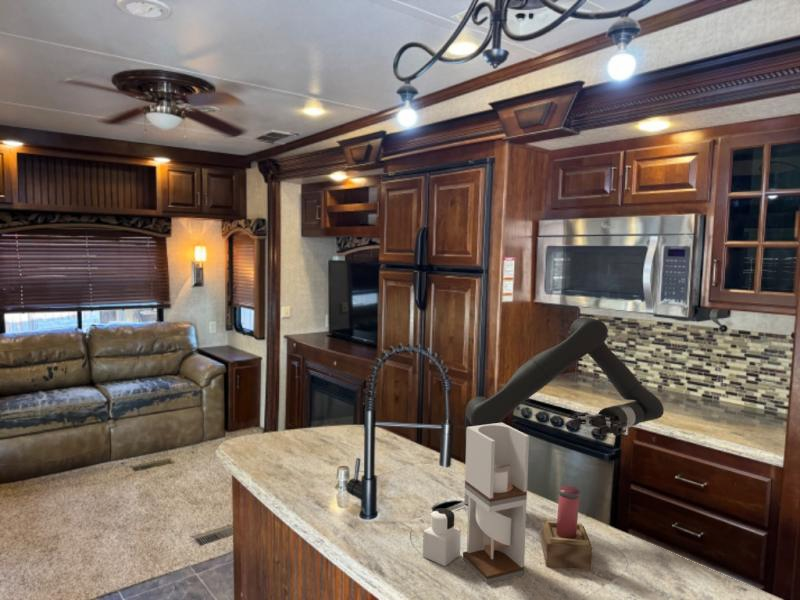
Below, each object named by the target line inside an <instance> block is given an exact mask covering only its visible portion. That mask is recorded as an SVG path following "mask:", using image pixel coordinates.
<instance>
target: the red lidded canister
mask: <svg viewBox="0 0 800 600" xmlns="http://www.w3.org/2000/svg"><path fill="white" fill-rule="evenodd" d="M580 496H581V491H580V489H578V488H577V487H575V486H571V485H560V486H559V488H558V506H557V519H556V522H557V530H556V533H557V535H558V536H560V537H562V538H567V539H574V538H576V533H577V523H578V519H579V506H580Z"/></svg>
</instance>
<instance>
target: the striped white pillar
mask: <svg viewBox="0 0 800 600" xmlns="http://www.w3.org/2000/svg"><path fill="white" fill-rule="evenodd" d="M529 447H530V435H528V434H526V433H525V432H522V431H519V430H518V429H517V428H514V427H512V426H510V425H508V424H506V423H504V422H500V423H494V424H486V425H478V426H470V427H467V431H466V438H465V470H464V471H465V472H464V473H465V475H464V495H465V494H467V495H468V496H469V498H468V504H467V507H468V508H467V534H466V535H467V537H466V538H467V539H466V540H467V541H466V551H463V552H462V561H463V562H465V564H466V565H468V567H469V568H470V569H471V570H472V571H473V572H474V573H475V574H476V575H477V576H478V577H479V578H480V579H481V580H482V581H483V582H484V583H485V584H486V585H490V584H493V583H499V582H501V581H505V580H508V579H512V578H517V577H519V576H523V575H525V574H524V573H525V552H526V550H525V549H526V548H525V547H526V528H527V527H526V526H527V524H526V523H527V503H528V502H527V501H528V500H527V499H528V498H527V497H528V474H529V451H530V450H529Z"/></svg>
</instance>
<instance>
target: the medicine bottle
mask: <svg viewBox="0 0 800 600" xmlns="http://www.w3.org/2000/svg"><path fill="white" fill-rule="evenodd" d="M461 535H462V530H461V529H460V528H458V527H455V513H454V512H453V511H452V510H450V509H448V508H440V507H439V508H435V509H434V510H432V511H431V513H430V526H429V527H428V528H426V529H424V530H423V541H422V543H423V544H422V549H423V550H422V557H423V558H425V559H428V560H429V561H432V562H434V563H436V564H439V565H441V566H443V567H446V566H447V565H449V564H450V563H451V562H453V561H454V560H456V559H457V558H459V557H460V555H461V539H462V536H461Z"/></svg>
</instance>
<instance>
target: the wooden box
mask: <svg viewBox="0 0 800 600" xmlns="http://www.w3.org/2000/svg"><path fill="white" fill-rule="evenodd" d="M556 530H557V521H552V520H545V521H544V522H542V523H541V535H540V536H541V537H540V545H541V551H542V554H543V557H544V563H545V567H548V568H549V567H550V568H559V569H560V568H561V569H572V570H584V571H585V570H586V571H592V565H593V564H592V563H593V545H592V543H591V540H590V538H589V536H588V533H587V531H586V528H585V526H584V525H583V523H578V522H577V533H576V538H574V539H567V538H562V537H560V536H558V535H557V533H556Z"/></svg>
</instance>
